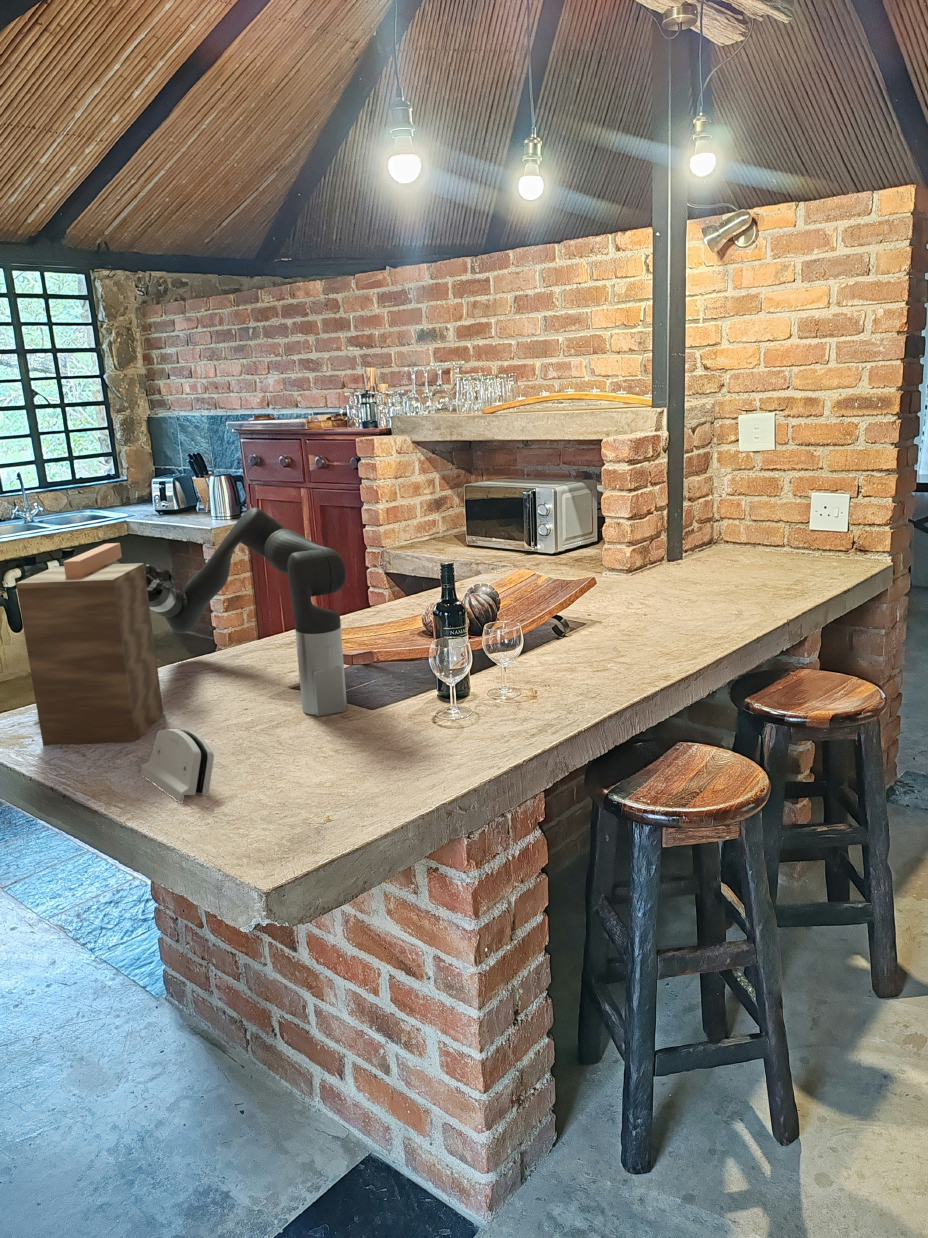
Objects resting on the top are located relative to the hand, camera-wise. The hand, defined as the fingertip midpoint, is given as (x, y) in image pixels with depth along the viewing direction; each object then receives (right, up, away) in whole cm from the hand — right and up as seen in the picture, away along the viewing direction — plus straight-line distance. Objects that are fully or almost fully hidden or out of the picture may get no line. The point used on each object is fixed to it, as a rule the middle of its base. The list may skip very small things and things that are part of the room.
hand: (127, 569), depth 197 cm
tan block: (0, 0, -16) cm, 16 cm away
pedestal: (+1, -33, -14) cm, 36 cm away
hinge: (+24, -39, -41) cm, 61 cm away
